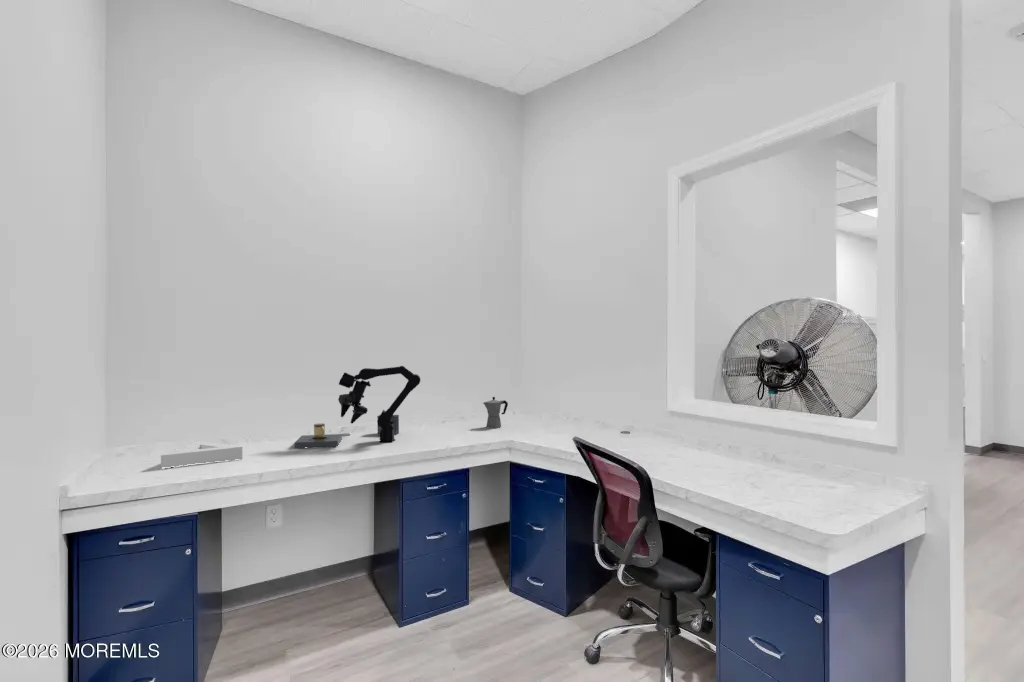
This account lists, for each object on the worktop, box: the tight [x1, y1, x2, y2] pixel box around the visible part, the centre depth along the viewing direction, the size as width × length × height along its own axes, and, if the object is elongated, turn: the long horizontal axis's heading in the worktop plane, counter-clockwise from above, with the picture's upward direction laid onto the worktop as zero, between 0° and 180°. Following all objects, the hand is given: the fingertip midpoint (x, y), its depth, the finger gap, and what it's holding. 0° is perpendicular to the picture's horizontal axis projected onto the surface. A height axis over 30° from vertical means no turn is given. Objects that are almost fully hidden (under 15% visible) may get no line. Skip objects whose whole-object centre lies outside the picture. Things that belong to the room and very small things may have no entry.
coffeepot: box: [482, 396, 509, 429], centre depth 315 cm, size 15×9×18 cm, turn 109°
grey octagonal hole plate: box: [294, 433, 343, 449], centre depth 267 cm, size 20×18×3 cm
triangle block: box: [160, 440, 243, 468], centre depth 233 cm, size 30×26×6 cm
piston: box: [313, 423, 326, 440], centre depth 267 cm, size 5×5×10 cm
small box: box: [376, 414, 400, 436], centre depth 294 cm, size 11×6×10 cm, turn 84°
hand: (346, 420), depth 270 cm, fingers open, 9 cm apart
